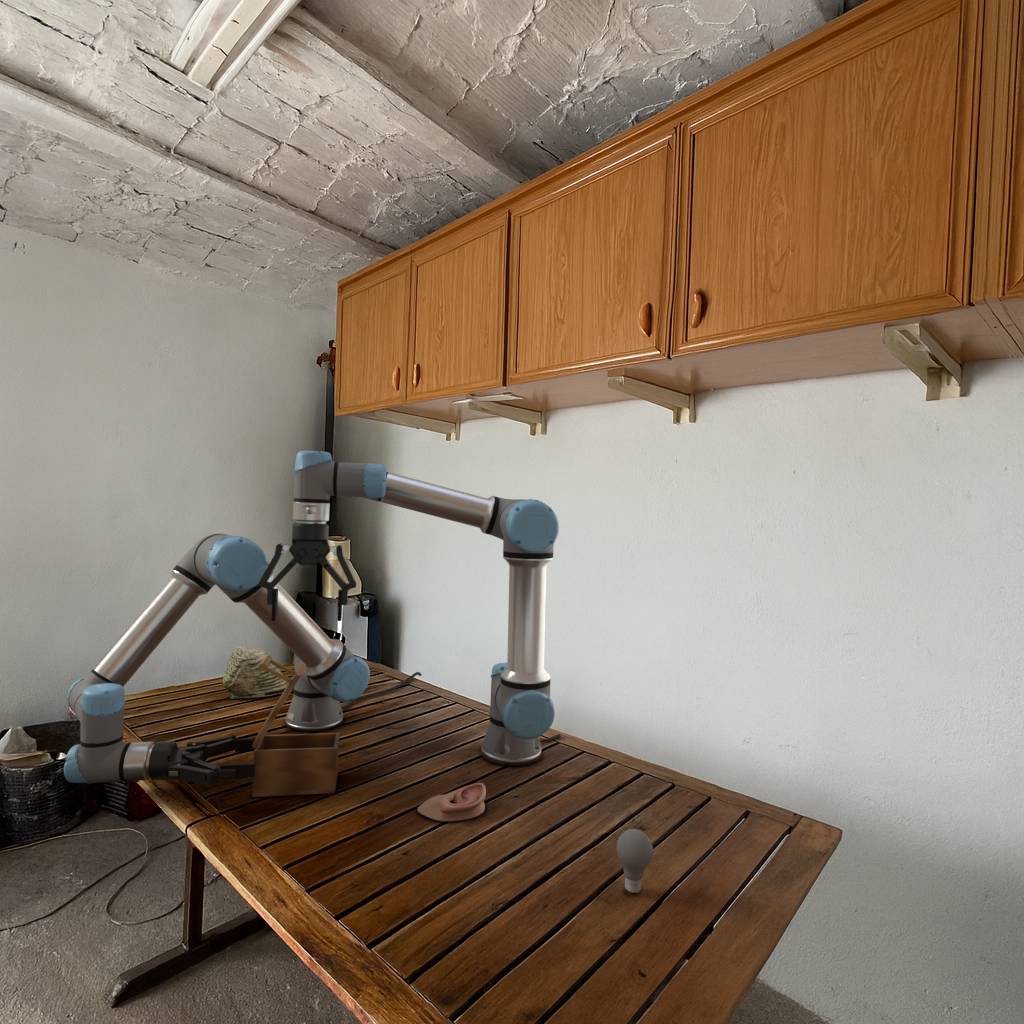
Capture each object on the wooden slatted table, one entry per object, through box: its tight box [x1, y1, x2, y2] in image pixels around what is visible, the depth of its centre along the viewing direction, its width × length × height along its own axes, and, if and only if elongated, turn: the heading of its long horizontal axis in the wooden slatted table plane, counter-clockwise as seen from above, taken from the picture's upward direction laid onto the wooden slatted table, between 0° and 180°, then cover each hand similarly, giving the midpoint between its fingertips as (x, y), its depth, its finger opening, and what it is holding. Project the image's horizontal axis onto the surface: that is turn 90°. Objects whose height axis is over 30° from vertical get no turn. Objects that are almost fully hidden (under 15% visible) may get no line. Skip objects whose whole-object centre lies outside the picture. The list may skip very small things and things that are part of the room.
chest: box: [251, 732, 340, 798], centre depth 138 cm, size 17×9×10 cm, turn 102°
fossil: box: [222, 646, 288, 699], centre depth 198 cm, size 9×18×15 cm, turn 132°
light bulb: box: [615, 828, 654, 894], centre depth 106 cm, size 6×6×10 cm
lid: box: [252, 655, 305, 749], centre depth 136 cm, size 17×9×8 cm
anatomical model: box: [417, 782, 487, 822], centre depth 131 cm, size 13×4×12 cm
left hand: (260, 756), depth 137 cm, fingers open, 13 cm apart
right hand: (307, 619), depth 138 cm, fingers open, 13 cm apart
